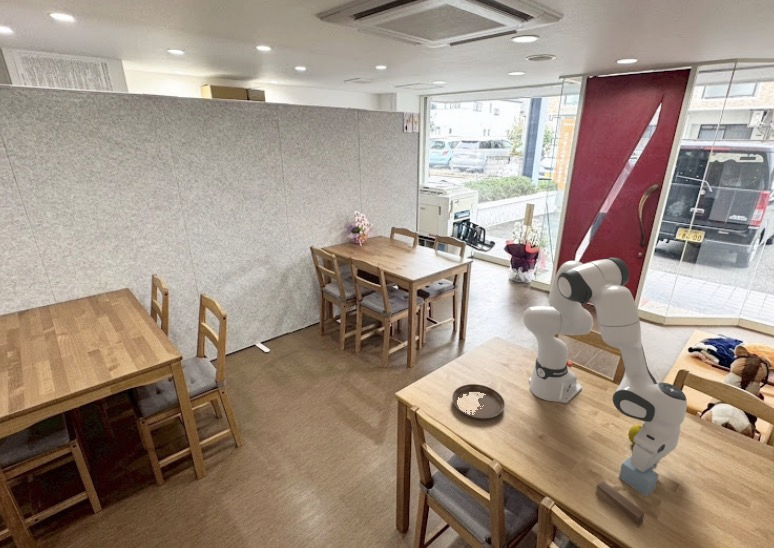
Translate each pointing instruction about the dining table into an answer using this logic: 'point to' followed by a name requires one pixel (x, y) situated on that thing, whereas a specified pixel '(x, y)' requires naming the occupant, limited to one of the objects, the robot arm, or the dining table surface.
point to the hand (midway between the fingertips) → (650, 468)
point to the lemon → (633, 432)
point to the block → (638, 478)
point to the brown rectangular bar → (620, 503)
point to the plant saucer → (481, 401)
